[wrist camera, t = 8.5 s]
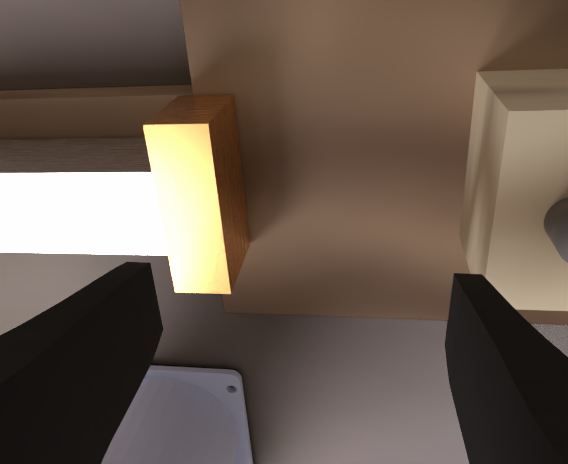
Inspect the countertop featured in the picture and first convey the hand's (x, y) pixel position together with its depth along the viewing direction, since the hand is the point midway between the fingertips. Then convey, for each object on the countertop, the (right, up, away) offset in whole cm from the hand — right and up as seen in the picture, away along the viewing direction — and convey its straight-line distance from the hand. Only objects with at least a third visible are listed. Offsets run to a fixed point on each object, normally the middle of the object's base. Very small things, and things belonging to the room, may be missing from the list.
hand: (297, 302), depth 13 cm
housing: (+8, +4, +5) cm, 11 cm away
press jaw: (-8, +4, +8) cm, 12 cm away
